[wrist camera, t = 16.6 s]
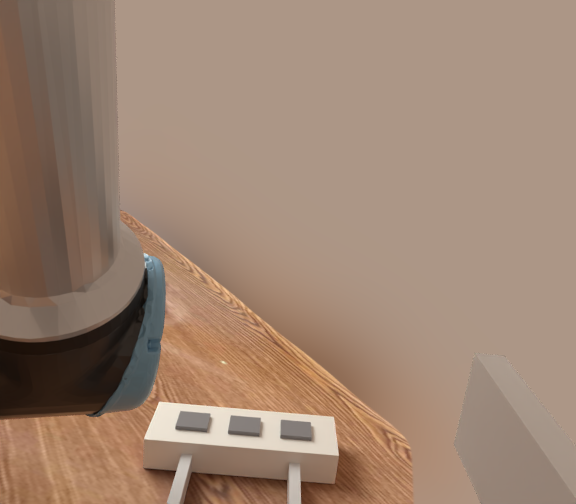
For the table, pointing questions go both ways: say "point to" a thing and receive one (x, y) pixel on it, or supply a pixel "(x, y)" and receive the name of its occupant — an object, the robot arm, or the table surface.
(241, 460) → the power strip dock
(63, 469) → the table surface
